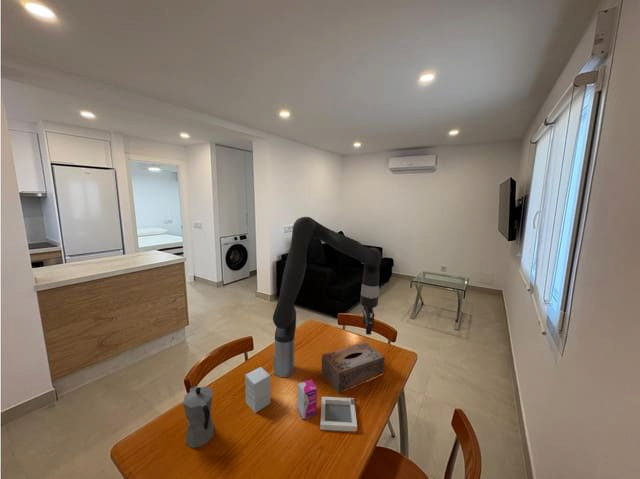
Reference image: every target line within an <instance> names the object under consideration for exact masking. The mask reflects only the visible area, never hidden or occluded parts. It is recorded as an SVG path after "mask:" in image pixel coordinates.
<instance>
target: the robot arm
mask: <svg viewBox="0 0 640 479" xmlns="http://www.w3.org/2000/svg"><path fill="white" fill-rule="evenodd" d="M311 238H312V239H315V240H319V241H320V242H321V241H322V242H324V243H325V244H327V245H329V246H330V247H332V248H334V250H336V251H338V252H341V253H342V254H345V255H347V256H349V257H351V258H354V259H356V260H358V261H360V263H362V264H363V272H362V273H363V274H362V280H361V281H362V282H361V283H362V284H361V288H360V290H361V291H360V302H359V303H360V305H361V306H362V311H361V312H362V316H363V317H362V318H363V319H362V325H363V326H366V327H365V334H366V335H367V336H369V335H372V330H373V328H374V326H375V312H374V311H375V310H374V309H373V308H377V307H378V305H379V296H380V266H381V265H380V264H381V263H382V259H383V258H382V257H383V256H382V254H381V251H380V250H379V249H378V248H376V247H368V246H366V245H363V244H362V243H361V242H359V241H357V240H355V239H353V238H351V237H348V236H346V235H344V234H341V233H339V232H336V231H334V230H332V229H330V228H328V227H326V226H325V225H323V224H321V223H320V222H318V221H316V220H315V219H313V218H312V217H310V216H303V217H302V216H301V217H298V218H297V219H296V220H295V221H294V223H293V227H292V234H291V241H290V248H289V250H288V254H287V257H286V261H285V265H284V269H283V273H282V274H283V275H282V279H281V283H280V285H281V286H280V291H279V296H278V301H277V303H276V306H275V309H274V312H273V315H272V320H273V324H274V326H275V327H276V329H275V331H274V354H273V375H275V376H277V377H279V378H288V377H290V376H292V375H293V374H294V372H295V336H296V335H295V334H296V329H297V310H296V308H295V302H296V299H297V296H298V294H299V293H300V292H299V291H300V290H301V288H302V286H303V285H302V284H303V281H304V278H305V274H306V270H307V253H308V247H309V244H310V242H311Z"/></svg>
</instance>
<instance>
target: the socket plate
mask: <svg viewBox="0 0 640 479" xmlns="http://www.w3.org/2000/svg"><path fill="white" fill-rule="evenodd" d="M320 403H321V405H320V406H321V407H320V428H319V429H320V430H319V431H327V432H328V431H329V432H339V431H340V433H343V432H345V433H352V432H351V431H357V432H358V423H357V414H356V404H355V398H353V397H352V398H351V397H338V396H337V397H336V396H321V402H320ZM346 431H347V432H346Z"/></svg>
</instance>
